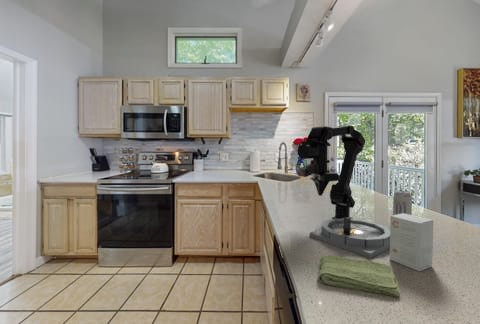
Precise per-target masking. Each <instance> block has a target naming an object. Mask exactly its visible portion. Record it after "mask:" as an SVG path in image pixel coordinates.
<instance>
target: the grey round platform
mask: <svg viewBox="0 0 480 324" xmlns="http://www.w3.org/2000/svg"><path fill="white" fill-rule="evenodd" d="M343 221H344V218H341V219H333V218H331V219H327V220H325V221H323V222H322V224H321V228H319V229H316V230H314V231H310V232H309V237H311V238H313V239H316V240H318V241H322V242H324V243H328V244H329V245H333V246H335V247H338V248H341V249H344V250H346V251H349V252H352V253H355V254H358V255H360V256H363V257H366V258H369V259H372V258H374V257H376V256H377V255H379V254H381V253H383V252H385V251H387V250H388V249H389V250H390V227H386V226H385V225H382V224H380V223H377V222H373V221H369V220H365V219H359V218H358V219H356V218H353V219H351V223H354V224H361V225H366V226H370V227H373V228H375V229H377V230H379V231H380V232H381V233H382V235H380V236H378V237H358V236H350V235H345V234H344V233H339V232H335V231H333V230H332V229H330V227H331V226H332V225H334V224H339V223H343Z"/></svg>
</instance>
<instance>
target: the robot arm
mask: <svg viewBox="0 0 480 324" xmlns="http://www.w3.org/2000/svg"><path fill="white" fill-rule="evenodd" d="M338 136H339V137H340V136H341V138H340V141H341V142H342V143H343V150H344V152H345V154H344V158H343V161H342V165H341V169H340V172H339V174H338V173H337V172H332V171H330V170H329V167H328V165H329V164H330V162H331V161H330V160H329V159H328V157H329V156H328V153H329V152H328V150H329V149H328V147H331V146H332V145H331V143H329V142H328V141H329V140H331V139H333V138H334V137H338ZM365 144H366V139H365V137H364V136H363V134H362V133H361V132H360V131H358V130H357V129H355V128H354V126H353V125H350V124H349V125H347V124H346V125H341V126H337V127H332V126H324V125H323V126H316V127H315V126H314V127H311V129H310V132H309V134H308V136H307V137H306V140H305V141H301V145H299V146H298V149H297V155H298V157H299V158H300V159H302V160H308V159H311V160H310V162H309V164H306V165H304V166H302V167H299V168H298V170H299V172H300V176H301V177H304V178H306V177H307V178H308V177H309V176H311V177H310V178H309V179H310V180H311V181H312V182H313V183H314V185H315V189H316V192H317V194H318V196H320V197H322V196H323V194H324V192H325V191H326V189H327V187H328V185H329V183H330V182H336V183H332V185H331V187H330V188H331V189H330V191H329V198H330V203H331V205H333V206H334V205H335V208H334V209H335V210H334V216H332V217H331V219H341V218H344V217H349V218H351V219H354V218H353V217H351V215H350V214H351V211H350V210H351V209H352V208H354V207H355V204H356V201H355V200H354V198H353V196H352V189H351V188H352V187H351V186H350V185H351V179H352V176H353V173H354V168H355V164H356V161H357V157H358V155H359V154H360V153H362V151H363V149H364V147H365Z"/></svg>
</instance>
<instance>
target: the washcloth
mask: <svg viewBox="0 0 480 324" xmlns="http://www.w3.org/2000/svg"><path fill="white" fill-rule="evenodd" d="M319 266H320V269H319V271H318V275H317V278H318V279H317V280H318V281H319V282H320V283H322V284H324V285H327V286H334V287H338V288H344V289H347V290H353V291H354V290H355V291H362V292H367V293H368V292H369V293H375V294H381V293H383V295H387V296H391V297H401V292H400V289H399V283H398V280H397V277H396V276H395V274H394V273H393V267H392V266H390V265H387V264H385V263H381V262H377V261H375V260H374V261H372V260H363V259H359V258H356V259H355V258H347V257H342V256H338V255H337V256H336V255H332V254H331V255H329V254H328V255H323V256H321V257H320V264H319Z"/></svg>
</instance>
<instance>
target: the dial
mask: <svg viewBox="0 0 480 324" xmlns="http://www.w3.org/2000/svg"><path fill="white" fill-rule="evenodd" d="M351 218H352V217H351ZM351 218H349V217H344V221H343V223H339V224H334V225H332V226H331V227H330V229H332V230H333V231H335V232H339V233H344V234H345V235H350V236H358V237H378V236H380V235H382V233H381V232H380V231H379V230H377V229H375V228H373V227H370V226H366V225H361V224H354V223H351Z"/></svg>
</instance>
